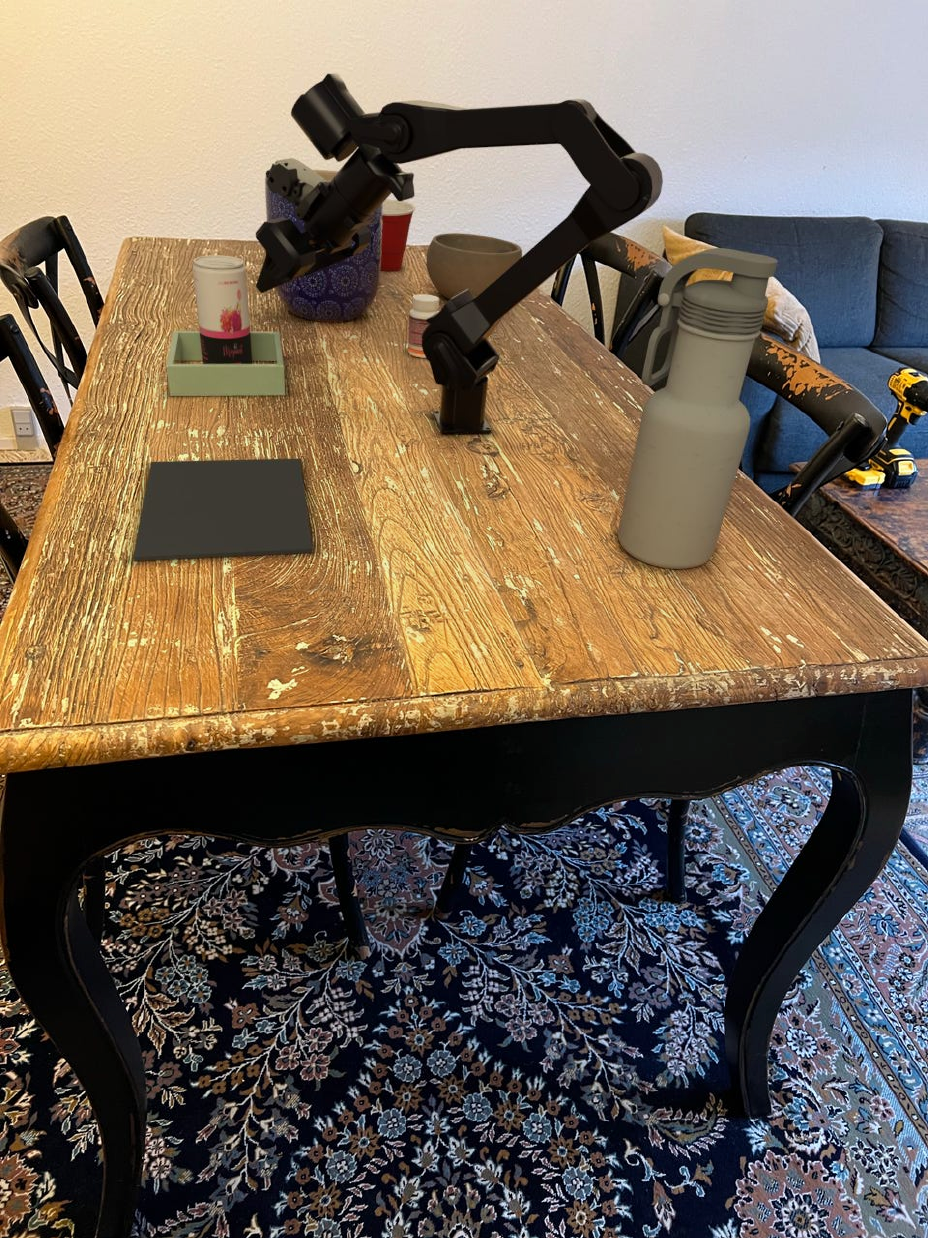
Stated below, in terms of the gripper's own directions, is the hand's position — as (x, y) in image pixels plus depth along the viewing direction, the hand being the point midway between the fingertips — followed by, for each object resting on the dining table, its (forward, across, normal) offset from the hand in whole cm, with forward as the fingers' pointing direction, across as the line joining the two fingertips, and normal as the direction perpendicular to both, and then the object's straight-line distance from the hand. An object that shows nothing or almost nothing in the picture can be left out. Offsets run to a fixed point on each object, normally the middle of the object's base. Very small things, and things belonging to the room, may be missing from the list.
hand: (279, 281), depth 106 cm
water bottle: (-28, +19, +50) cm, 60 cm away
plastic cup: (+22, -69, -4) cm, 73 cm away
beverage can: (+16, +1, +4) cm, 16 cm away
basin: (+15, +1, +3) cm, 16 cm away
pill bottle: (+3, -23, +17) cm, 29 cm away
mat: (+1, +33, +19) cm, 38 cm away
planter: (+18, -34, +1) cm, 38 cm away
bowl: (+6, -58, +13) cm, 60 cm away
